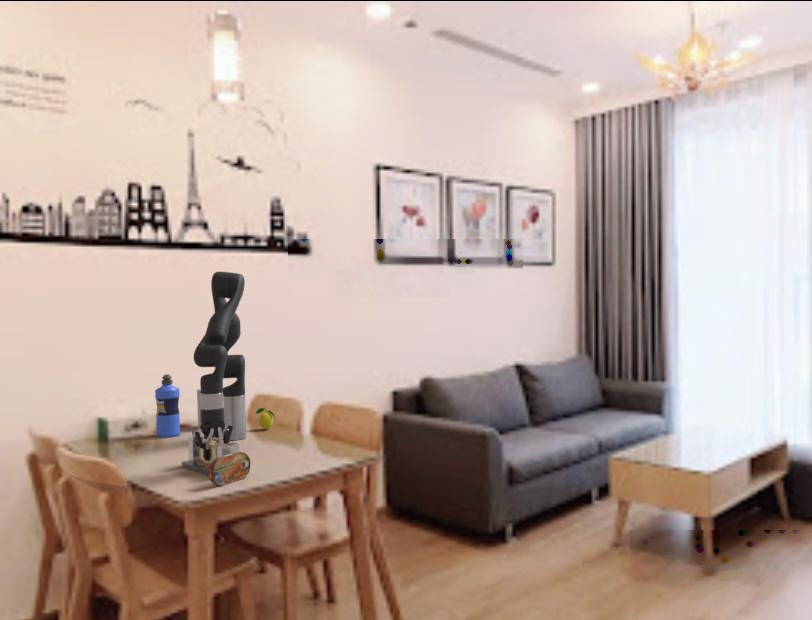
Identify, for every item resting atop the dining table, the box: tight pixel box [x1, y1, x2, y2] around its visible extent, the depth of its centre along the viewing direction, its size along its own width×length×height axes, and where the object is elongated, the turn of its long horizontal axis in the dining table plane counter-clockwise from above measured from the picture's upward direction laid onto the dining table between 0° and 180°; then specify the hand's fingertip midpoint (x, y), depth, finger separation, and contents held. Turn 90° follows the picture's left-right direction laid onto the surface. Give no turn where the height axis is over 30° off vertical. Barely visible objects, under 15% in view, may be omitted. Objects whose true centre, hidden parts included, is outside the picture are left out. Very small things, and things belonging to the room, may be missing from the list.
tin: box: [208, 451, 251, 487], centre depth 203 cm, size 15×3×8 cm, turn 148°
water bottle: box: [154, 374, 181, 439], centre depth 273 cm, size 9×9×25 cm
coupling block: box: [199, 439, 225, 463], centre depth 218 cm, size 12×4×6 cm, turn 45°
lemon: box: [254, 407, 276, 431], centre depth 282 cm, size 7×6×10 cm
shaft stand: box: [181, 434, 240, 476], centre depth 218 cm, size 25×10×10 cm, turn 45°
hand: (213, 458), depth 218 cm, fingers closed on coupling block, 4 cm apart
